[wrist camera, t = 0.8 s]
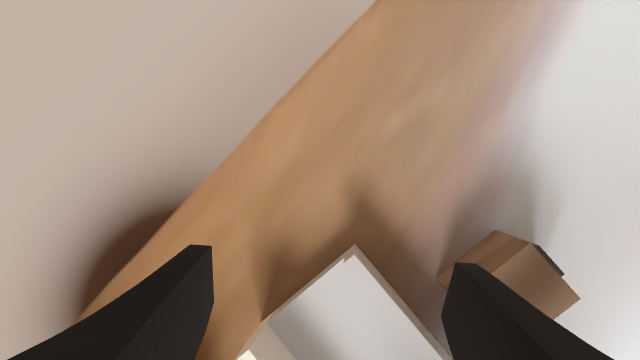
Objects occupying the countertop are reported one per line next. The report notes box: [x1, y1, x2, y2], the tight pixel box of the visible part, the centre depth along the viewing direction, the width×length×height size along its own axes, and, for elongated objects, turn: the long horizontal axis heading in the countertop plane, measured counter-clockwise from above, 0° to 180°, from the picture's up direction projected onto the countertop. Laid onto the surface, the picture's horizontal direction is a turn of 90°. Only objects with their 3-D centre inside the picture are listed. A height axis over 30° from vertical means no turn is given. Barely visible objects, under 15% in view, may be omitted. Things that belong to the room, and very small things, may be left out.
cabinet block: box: [437, 230, 580, 320], centre depth 26 cm, size 4×7×6 cm
